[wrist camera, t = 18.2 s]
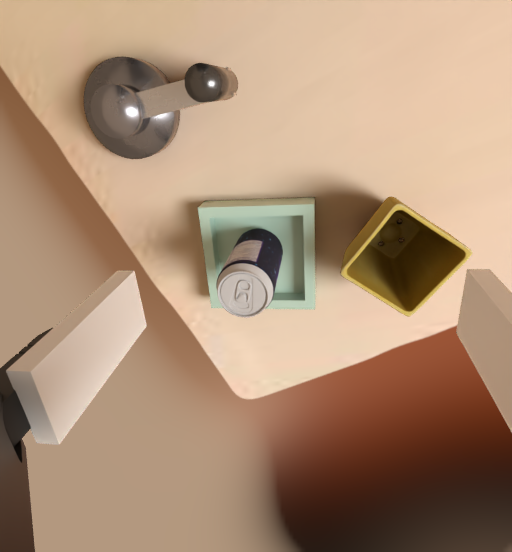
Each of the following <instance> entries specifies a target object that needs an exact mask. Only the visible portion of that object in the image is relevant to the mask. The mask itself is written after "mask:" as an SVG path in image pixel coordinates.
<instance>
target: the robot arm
mask: <svg viewBox="0 0 512 552" xmlns="http://www.w3.org/2000/svg"><path fill="white" fill-rule="evenodd" d="M145 327H146V321H145V316H144V312H143V307H142V303H141V299H140V294H139V289H138V285H137V281H136V276H135V272H134V271H117V272H116V273H114V274H113V275H112V276H111V277H110V278H109V279H108V280H107V281H105V282H104V283H103V284H102V285H101V286H100V287H99V288H98V289H97V290H96V291H94V292H93V293H92V294H91V295H90V296H89V297H88V298H86V299H85V300H84V301H83V302H82V303H81V304H80V305H79V306H77V307H76V308H75V309H74V310H73V311H72V312H71V313H70V314H69V315H67V316H66V317H65V318H64V319H63V320H62V321H61V322H60V323H59V324H57V325H56V326H55V327H54V328H51V329H49V330H47V331H45V332H44V333H42V334H40V335H38V336H37V337H36V338H35V339H33V340H32V341H31V342H30V343H29V344H28V346H27V347H24V348H23V349H22V350H21V351H20V352H19V354H16V355H15V356H14V357H13V358H12V359H10V360H9V361H8V362H7V363H6V364H5V365H4V366H2V367H1V368H0V552H35V549H34V536H33V525H32V514H31V503H30V491H29V480H28V470H27V458H26V448H25V445H24V442H23V440H22V438H23V436H24V435H25V434H26V433H27V432H28V431H29V429H31V431H32V434H33V436H34V438H35V441H36V443H43V444H56V445H59V444H60V443H61V442H62V440H63V439H64V437H65V436H66V435H67V433H68V432H69V431H70V429H71V428H72V427H73V425H74V424H75V423H76V421H77V420H78V418H79V417H80V416H81V414H82V413H83V412H84V410H85V409H86V407H87V406H88V405H89V404H90V402H91V401H92V399H93V398H94V397H95V395H96V394H97V393H98V391H99V390H100V389H101V387H102V386H103V384H104V383H105V382H106V380H107V379H108V378H109V376H110V375H111V374H112V372H113V371H114V370H115V368H116V367H117V365H118V364H119V363H120V361H121V360H122V359H123V357H124V356H125V354H126V353H127V352H128V351H129V349H130V348H131V346H132V345H133V344H134V342H135V341H136V340H137V338H138V337H139V336H140V334H141V333H142V331H143V330H144V329H145ZM456 333H457V335H458V337H459V338H460V340H461V342H462V344H463V345H464V347H465V349H466V351H467V353H468V354H469V356H470V358H471V360H472V362H473V364H474V365H475V367H476V369H477V371H478V373H479V374H480V376H481V378H482V380H483V382H484V383H485V385H486V387H487V389H488V391H489V392H490V394H491V396H492V398H493V399H494V401H495V403H496V405H497V407H498V408H499V410H500V412H501V414H502V416H503V418H504V419H505V421H506V423H507V425H508V427H509V428H510V430H511V432H512V293H511V292H510V291H509V290H508V289H507V287H506V286H505V285H504V284H503V283H502V282H501V281H500V280H499V279H498V278H497V277H496V276H495V275H494V274H493V272H492V271H491V270H490V269H467V273H466V279H465V285H464V290H463V296H462V302H461V308H460V314H459V320H458V325H457V332H456Z"/></svg>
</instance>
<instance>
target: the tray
mask: <svg viewBox="0 0 512 552" xmlns="http://www.w3.org/2000/svg"><path fill="white" fill-rule="evenodd" d="M198 214H199V221H200V228H201V236H202V243H203V250H204V257H205V265H206V272H207V279H208V286H209V294H210V301H211V308H223V307H222V305H221V304H220V302H219V299H218V295H217V289H216V283H217V278H218V276H219V274H220V272H221V270H222V268H223V267H224V265H225V263H226V261H227V259H228V257H229V256H230V254H231V252H232V250H233V248H234V246H235V244H236V243H237V241H238V239H239V238H240V236H241V235H242V234H243V233H245V232H246V231H248V230H251V229H265V230H268V231H270V232H272V233H273V234H274V235H276V236H277V238H278V239H279V240H280V242H281V244H282V248H283V256H282V261H281V265H280V270H279V274H278V279H277V283H276V288H275V292H274V297H273V299H272V301H271V303H270V304H269V306H268V307H267V308H265V309H315V197H307V198H278V199H248V200H219V201H204V202H203V203H202V204H201V205H200V206H199V207H198Z"/></svg>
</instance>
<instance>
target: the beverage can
mask: <svg viewBox="0 0 512 552" xmlns="http://www.w3.org/2000/svg"><path fill="white" fill-rule="evenodd" d="M282 256H283V248H282V244H281V242H280V240H279V239H278V238H277V236H276V235H274V234H273V233H272V232H270V231H268V230H265V229H251V230H248V231H246V232H245V233H243V234H242V235H241V236H240V238H239V239H238V241H237V243H236V244H235V246H234V248H233V250H232V252H231V254H230V256H229V257H228V259H227V261H226V263H225V265H224V267H223V268H222V270H221V272H220V274H219V276H218V278H217V283H216V289H217V295H218V299H219V302H220V304H221V305H222V307H223V308H224V309H225V310H226V311H228V312H229V313H231V314H233V315H235V316H238V317H252V316H255V315H257V314H259V313H261V312H262V311H263V310H264V309H265V308H267V307H268V306H269V304H270V303H271V301H272V299H273V297H274V292H275V288H276V283H277V279H278V274H279V270H280V265H281V261H282Z"/></svg>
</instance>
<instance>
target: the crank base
mask: <svg viewBox="0 0 512 552" xmlns="http://www.w3.org/2000/svg"><path fill="white" fill-rule="evenodd" d="M107 84H126V85H131V86H134V87H135V88H137V89H138V90H140V91H145V90H148V89H152V88H155V87H159V86H163V85H166V84H170V81H169V80H168V79H167V77H166V76H165V75H164V74H163V73H162V72H161V71H160V70H159V69H158V68H157V67H155V66H154V65H152V64H150V63H148V62H146V61H143V60H140V59H135V58H129V57H115V58H111V59H108V60H106V61H104V62H102V63H101V64H100V65H98V66H97V67H96V68H95V69H94V70H93V72H92V73H91V75H90V76H89V79H88V81H87V83H86V87H85V92H84V109H85V114H86V118H87V121H88V123H89V126H90V128H91V130H92V131H93V133H94V135H95V136H96V137H97V139H98V140H99V141H100V142H101V143H102V144H103V145H104V146H105V147H106V148H107V149H109V150H110V151H111V152H113V153H115V154H117V155H119V156H122V157H125V158H130V159H142V158H146V157H149V156H152V155H154V154H157V153H159V152H161V151H162V150H164V149H165V148H166V147H167V146H168V145H169V144H170V143H171V142H172V140H173V138H174V137H175V135H176V132H177V129H178V126H179V120H180V110H177V111H173V112H169V113H165V114H161V115H158V116H154V117H150V121H149V124H148V126H147V128H146V129H145V130H144V131H143V132H142V133H140V134H137V135H134V136H130V137H126V138H121V139H117V138H112V137H109V136H107V135H106V134H104V133H103V132H102V131H101V130H100V129H99V128H98V127H97V125H96V124H95V122H94V120H93V117H92V114H91V100H92V97H93V95H94V93H95V92H96V90H97V89H98V88H100V87H101V86H103V85H107Z"/></svg>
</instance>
